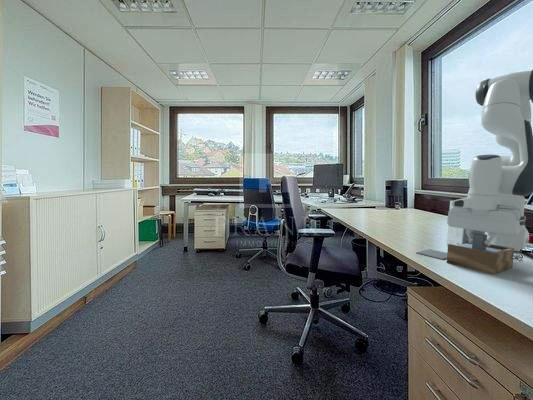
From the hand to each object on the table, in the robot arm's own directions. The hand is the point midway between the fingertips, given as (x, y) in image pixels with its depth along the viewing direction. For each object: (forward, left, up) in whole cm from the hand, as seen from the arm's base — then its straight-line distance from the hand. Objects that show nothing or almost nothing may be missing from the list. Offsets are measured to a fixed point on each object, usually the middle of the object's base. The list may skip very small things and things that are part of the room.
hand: (479, 244), depth 101 cm
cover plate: (0, 0, -3) cm, 3 cm away
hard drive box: (-17, -12, -7) cm, 22 cm away
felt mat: (0, -14, -7) cm, 16 cm away
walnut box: (0, 0, -7) cm, 7 cm away
